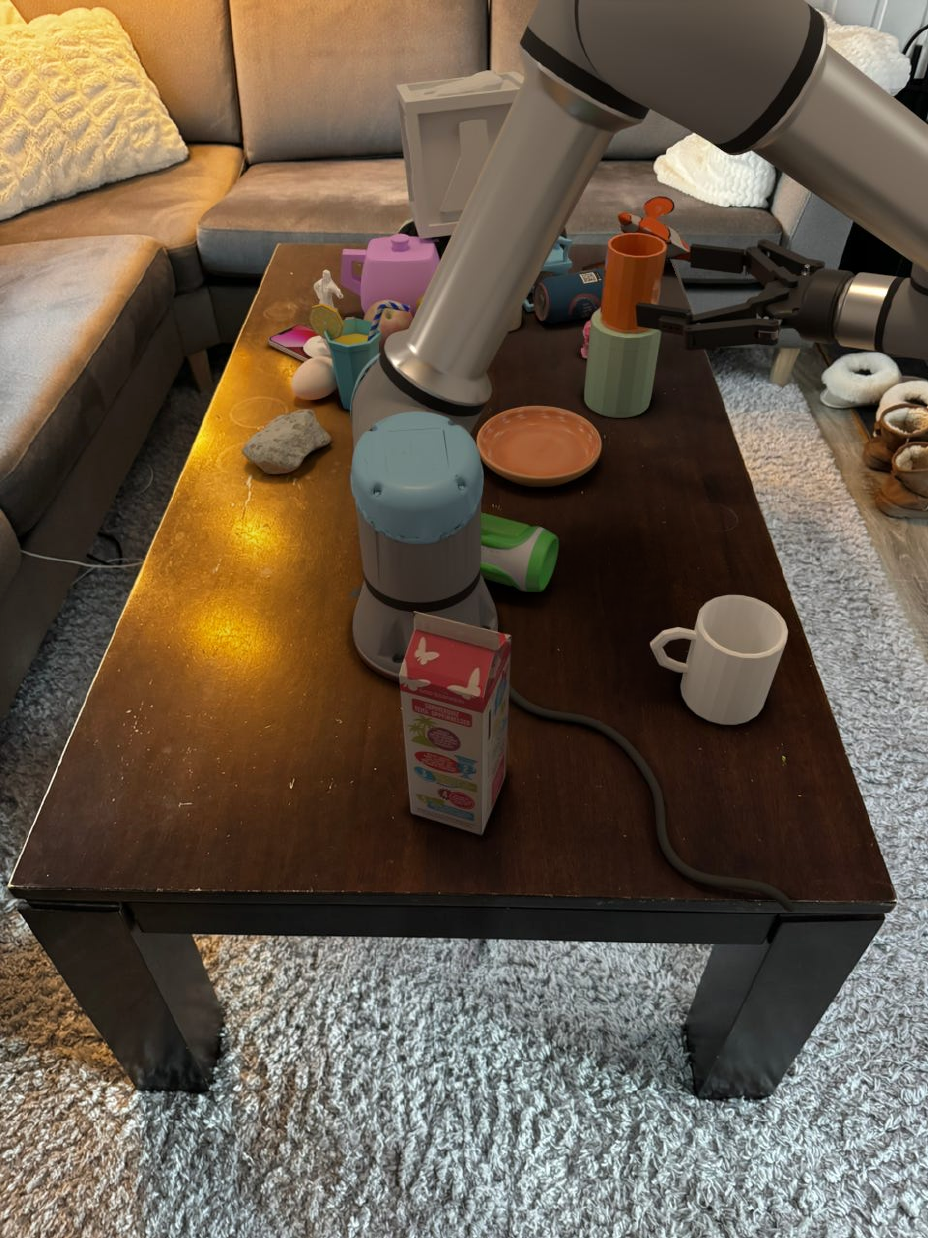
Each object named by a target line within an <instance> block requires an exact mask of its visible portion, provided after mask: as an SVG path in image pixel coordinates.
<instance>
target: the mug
mask: <svg viewBox="0 0 928 1238" xmlns="http://www.w3.org/2000/svg"><path fill="white" fill-rule="evenodd" d="M696 618H697V619H696V621H695V626H694V629H689V628H684V627H679V626H677V627H672V628H668V629H664V630H662V631H661V632H659V634H658V635H656V636H655V637H654V638H653V639H652V640H651V641H650V642H649V646H650V648H651V651H652V653H653V655H654V658H655V659H656V661H657V663H658V665H659V666H661V667H664V668H665V669H668V670H670V671H673V672H675V673H682V678H681V682H680V685H679V687H680V693H681V697H682V698H683V700H684V702H685V704H686V706H687V707H688V708H689V709H690V710H691V711H692V712H694V714H695V715H697V716H699V717H700V718H703V719H704V720H706V721H708V722H711V723H714V724H718V725H728V726H729V725H730V726H731V725H732V726H735V725H739V724H740V725H741V724H744V723H747V722H749V721H750V720H752V719H754V718H755V717H757V716H758V715H759V714H760V712H761V711H762V709H763V708H764V705H765V702H766V699H767V698H768V694H769V691H770V688H771V686H772V682H773V681H774V678H775V675H776V672H777V669H778V666H779V664H780V661H781V658H782V655H783V652H784V650H785V646H786V644H787V640H788V634H789V629H788V628H787V623H786V620H785V619H784V618H783V616H782V615H781V614H780V613H779V612H778V611H777V610H776V609H775V608H774V607H772V606H771V605H770V604H768V603H767V602H764V601H762V600H760V599H758V598H756V597H752V596H747V595H741V594H726V595H721V596H717V597H714V598H712V599H710V600H708V601H706V602H705V603H704V605H702V606H701V607H700V609H699V610H698V613H697V617H696ZM679 639H681V640H682V639H686V640H689V641H690V645H689V649H688V654H687V658H686V660H685V662H681V661H677V660H675V659H673V658H671V657H669V656H668V655H667V654H666V651H665V650H664V647H665V646H666V644H668V643H669V642H670V641H675V640H679Z"/></svg>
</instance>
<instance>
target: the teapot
mask: <svg viewBox="0 0 928 1238" xmlns="http://www.w3.org/2000/svg"><path fill="white" fill-rule="evenodd" d="M354 262H357V263H363V265H362V270H361V277H360V276H358V275H357V274H355V273H354V266H353V263H354ZM439 262H440V258H439V255H438V252H437V249H436V246H435V244H434V241H433V240H432V239H430V238H423V239H420V238H419V237H411V236H408V235H405V234H398V233H395V234H392V235H391V236H381V237H375V238H372V239H370V241H369V242H368V244H367V249H359V248H358V249H357V248H356V249H354V248H343V250H342V254H341V262H340V263H341V264H340V265H341V266H340V279H339V281H340V282H339V284H340V285H341V286H342V287H344V288H346V289H347V290H349V291H351V292H353V293H354V294H356V295H358V296H359V297H360V305H361V309H362V311H363V313H364V315H365V314H366V312H367V310H368V309H369V308H370V307H371V306H372V305H374V304H375V303H377V302H379V301H382V300H392V301H396V302H399V303H401V304H403V305H407V306H410V307H409V311H410V312H411V314H412V317H413V319H414V316H415V314H416V312H417V306H416V302H417V300H418V299H419V298H420V297H422V296H424V295H425V293H426V290H427V288H428V286H429V284H430V282H431V280H432V277H433V275H434V273H435V271H436V269H437V267H438V264H439Z"/></svg>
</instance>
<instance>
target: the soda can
mask: <svg viewBox="0 0 928 1238" xmlns="http://www.w3.org/2000/svg"><path fill="white" fill-rule="evenodd" d="M604 272H605V270H603V269H594V270H588V271H583V270H582V271H576V272H571V273H567V274H564V275H558V276H554V275H553V276H548V277H545V278H543V279H542V281H540V282H537V283H535V284H534V286H535V287H534V290H533V293H532V304H534V309H535V311H534V313H535V315H536V317H537V319H538V320H539V321H541V322H547V323H550V324H557V323H562V322H568V321H574V320H579V319H585V318H592V315H593V313H594V312H595V311H597V310H598V309H599V308H600V307H601V300H602V291H603V281H604Z"/></svg>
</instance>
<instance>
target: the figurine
mask: <svg viewBox="0 0 928 1238" xmlns="http://www.w3.org/2000/svg"><path fill="white" fill-rule="evenodd" d="M321 275H322V278H320V279H318V280H317V281H316V282H315V283H314V284H313V290H314V292H315V293H316V296H317V298H318V299H319V301H318V305H319V304H323V303H325V304H327V305H329V306H331V307H332V308H334V307H335V305H334V301H333V295H335V296H336V297H337V298H338V299H339V300H343V299H344V294H343V293H342V291H341V289H340V288H339V287H338V286H337V284H336V283H335V282H334V281H333V279H332V277H331V276H332V275H331V271H330V270H328V269H324V270H323V271H322V274H321ZM303 349H304V351H305V353H306V354H308V355H309V356H311V357H313V358H314V357H318V356H324V357H328V358H331V354H330V352H329V351H328V349H327V348H326V346H325V343H324V341H323V339H322V337H321V336H315V337H312V338H310V339H309V340H308V341H307V342H306V343H305V345H304V347H303ZM331 359H332V358H331Z"/></svg>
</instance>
